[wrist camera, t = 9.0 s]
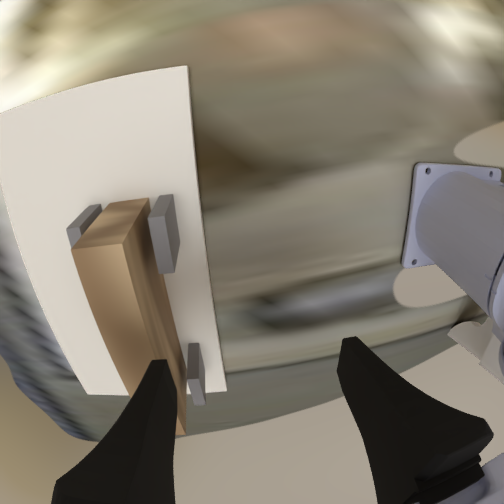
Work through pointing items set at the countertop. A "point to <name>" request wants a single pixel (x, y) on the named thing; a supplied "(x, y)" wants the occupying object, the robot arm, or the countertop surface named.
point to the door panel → (130, 296)
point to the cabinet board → (96, 200)
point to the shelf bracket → (480, 344)
